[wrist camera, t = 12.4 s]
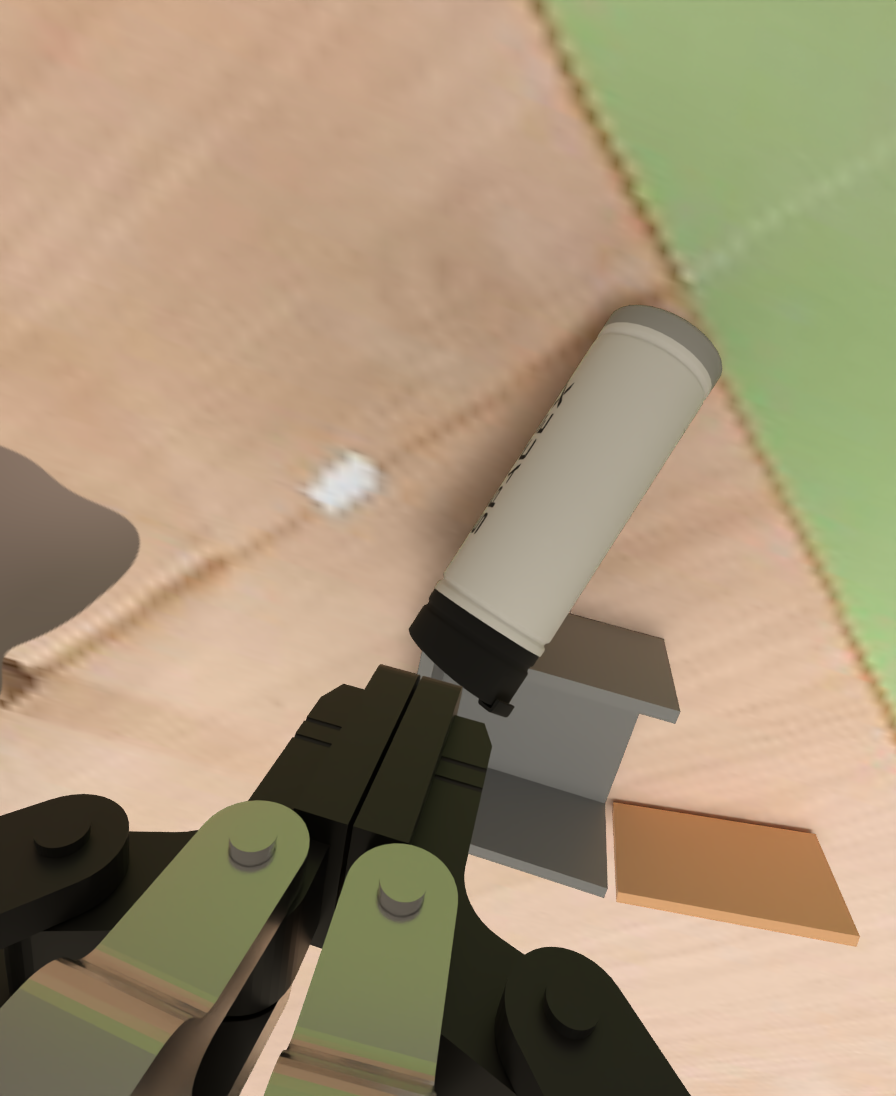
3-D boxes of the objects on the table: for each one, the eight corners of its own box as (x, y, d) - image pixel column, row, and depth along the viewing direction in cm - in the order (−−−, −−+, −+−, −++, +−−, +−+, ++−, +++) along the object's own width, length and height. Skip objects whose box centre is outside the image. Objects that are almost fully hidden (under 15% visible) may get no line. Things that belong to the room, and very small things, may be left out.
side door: (808, 859, 43) (850, 964, 36) (610, 826, 46) (614, 918, 39) (815, 834, 42) (859, 936, 35) (613, 802, 45) (617, 891, 38)
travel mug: (740, 396, 32) (528, 727, 32) (630, 365, 36) (441, 658, 36) (720, 317, 27) (469, 707, 27) (595, 292, 31) (375, 630, 31)
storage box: (663, 639, 40) (680, 711, 33) (601, 804, 46) (603, 897, 38) (453, 582, 42) (424, 638, 35) (417, 747, 47) (385, 826, 40)
